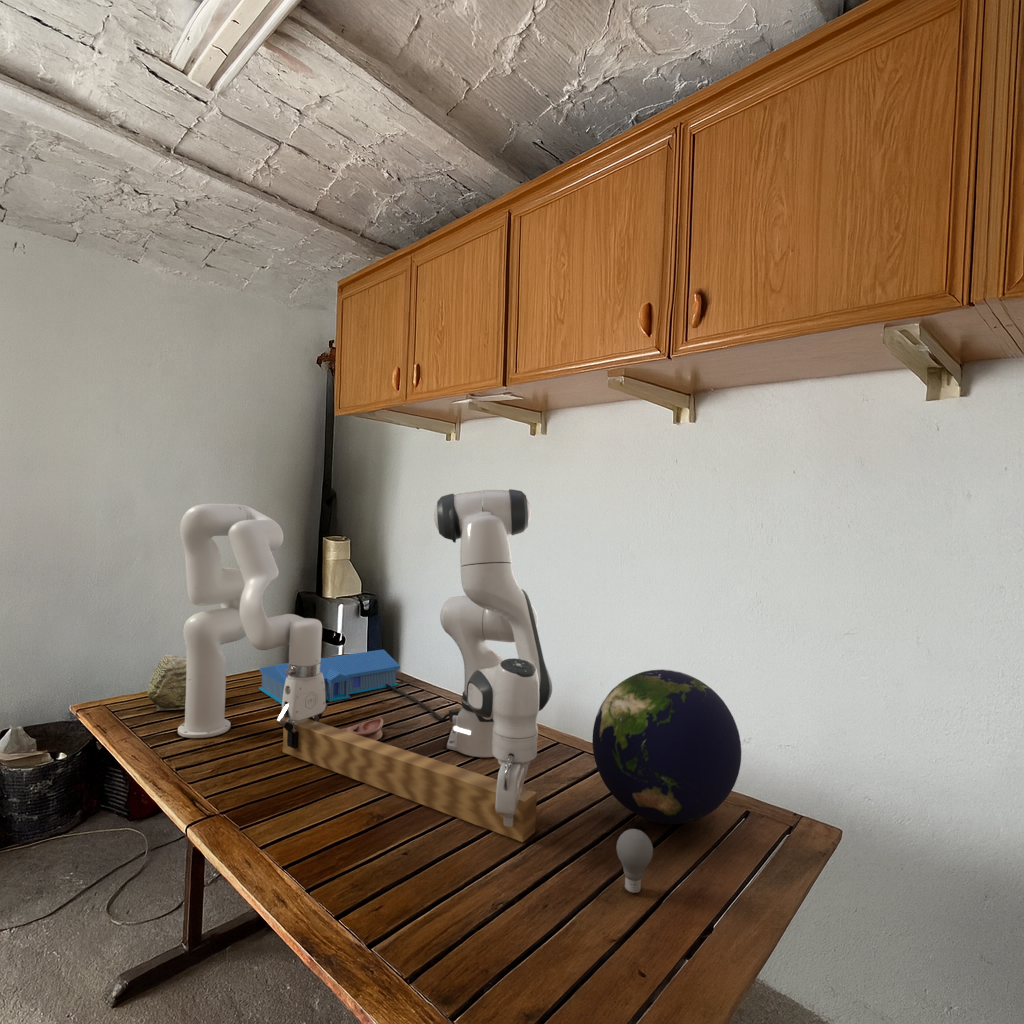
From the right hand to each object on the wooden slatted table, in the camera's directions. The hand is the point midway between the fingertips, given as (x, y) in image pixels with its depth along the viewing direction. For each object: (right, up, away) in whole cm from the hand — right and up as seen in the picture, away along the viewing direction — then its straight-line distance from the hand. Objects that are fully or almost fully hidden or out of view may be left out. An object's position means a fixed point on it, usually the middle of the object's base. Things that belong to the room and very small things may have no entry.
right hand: (511, 815), depth 124 cm
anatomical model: (-41, 0, +44) cm, 60 cm away
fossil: (-96, +2, +61) cm, 114 cm away
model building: (-59, +1, +84) cm, 103 cm away
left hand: (-52, +2, +32) cm, 61 cm away
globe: (+31, -4, +8) cm, 33 cm away
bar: (-26, -2, +16) cm, 30 cm away
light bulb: (+20, -4, -18) cm, 27 cm away
